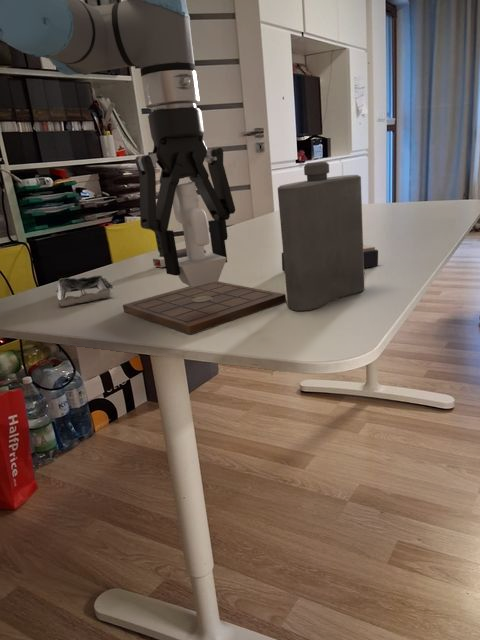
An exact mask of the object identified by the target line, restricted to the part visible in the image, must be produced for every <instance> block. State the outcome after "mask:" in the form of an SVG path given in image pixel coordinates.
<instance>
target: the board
mask: <svg viewBox="0 0 480 640" xmlns="http://www.w3.org/2000/svg"><path fill="white" fill-rule="evenodd" d="M286 302H287V293H281V292H275V291H270V290H266V289H265V290H264V289H259V288H255V287H249V286H245V285H239V284H233V283H229V282H223V281H219V280H218V282H214V283H209V284H204V285H200V286H195V287H190V286H188V285H187V286H185V287H182V288H178V289H174V290H171V291H168V292H163V293H160V294H157V295H153V296H150V297H145V298H143V299H139V300H138V299H137V300H135V301H131V302H128V303H125V304H122V309H123V312H124V313H127V314H130V315H133V316H135V317H138V318H142V319H145V320H146V321H149V322H152V323H153V322H154V323H156V324H159V325H161V326H164V327H167V328H169V329H173V330H176V331H179V332H182V333H186V334H188V335H193V334H196V333H199V332H202V331H205V330H207V329H211V328H214V327H217V326H219V325H222V324H225V323H228V322H231V321H234V320H236V319H239V318H243V317H246V316H248V315H251V314H254V313H258V312H260V311H263V310H266V309H269V308H271V307H274V306H277V305H281V304H284V303H286Z"/></svg>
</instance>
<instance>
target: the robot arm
mask: <svg viewBox="0 0 480 640" xmlns="http://www.w3.org/2000/svg"><path fill="white" fill-rule="evenodd" d="M187 6H188V5H187V0H122V1H120V2H115V3H109V4H101V5H90V4H88V3H87V2H84V1H82V0H0V41H1V42H3V43H6V44H7V45H8V46H10V47H11V48H14V49H15V50H17V51H19V52H21V53H23V54H27V55H30V56H32V57H35V58H44V59H49V61H50V63H51V64H52V66H54V67H56V69H57V71H58V72H60V73H61V74H63V75H66V76H72V75H73V76H74V75H83V76H88V75H90V74H92V73H98V72H104V71H110V70H117V69H122V68H128V67H131V68H133V67H137V66H139V69H140V70H139V71H140V77H141V82H142V90H143V95H144V102H145V107H146V108H147V109H149V110H150V111H151V112H149V113H148V115H147V118H148V124H149V131H150V137H151V140H152V143H153V150H152V153H150V154H146V155H145V154H144V155H138V156H136V157H135V160H134V162H135V165H136V168H137V172H138V174H139V216H140V217H139V219H140V220H139V221H140V227H141V228H142V229H144V230H149V231H152V232H153V233H154V235H155V242H156V247H157V251H158V253H159V255H160V254H163V255H164V261H165V272H166V275H171V276H177V277H178V275H180V269H179V263H178V257H177V251H176V250H177V245H176V239H175V234H174V230H172V229H171V230H169V224H170V219H171V213H172V209H173V200H174V195H175V190H176V186H177V185H179V183H180V180H181V179H185V178H188V179H189V180H190V182H195V187H196V191H197V192H198V195H199V196H200V198H201V199H202V201H203V203H204V205H205V207H206V209H207V210H208V212H209V214H210V216H211V218H212V220H207V221H208V228H209V236H210V245H211V251H212V252H211V253H214V254H217V255H220V256H223V257H226V258H227V259H226V262H225V264H227V263H228V255H227V246H226V241H227V240H228V237H229V236H228V230H227V229H228V228H227V220H229V219H230V218H231V214H232V215H233V214H235V212H236V205H235V202H234V199H233V195H232V191H231V188H230V184H229V180H228V177H227V173H226V170H225V165H224V150H223V148H222V147H214V148H211V147H209V148H208V147H207V145H206V144H205V141H204V133H205V129H204V121H203V114H202V110H201V109H200V108H199V107H197V105H198V104H199V103H200V93H199V85H198V77H197V71H196V65H195V57H194V47H193V39H192V32H191V31H192V30H191V23H190V22H191V17H190V15H189V10H188V7H187ZM204 162H206V163H207V168H208V170H207V169H206V167H205V165H204ZM157 165H158V167H160V169H161V172H160V176H159V190H158V194H157V177H156V168H157ZM208 172H209V173H208ZM209 177H210V178H209ZM210 179H211V181H210ZM211 182H212V183H211Z"/></svg>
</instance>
